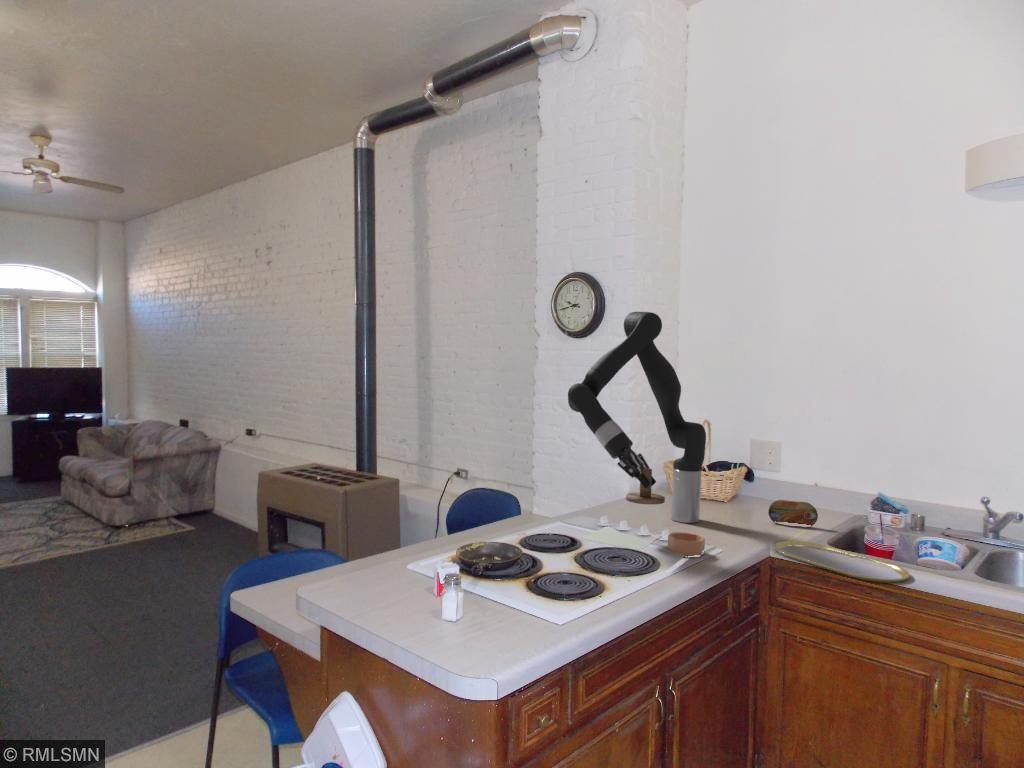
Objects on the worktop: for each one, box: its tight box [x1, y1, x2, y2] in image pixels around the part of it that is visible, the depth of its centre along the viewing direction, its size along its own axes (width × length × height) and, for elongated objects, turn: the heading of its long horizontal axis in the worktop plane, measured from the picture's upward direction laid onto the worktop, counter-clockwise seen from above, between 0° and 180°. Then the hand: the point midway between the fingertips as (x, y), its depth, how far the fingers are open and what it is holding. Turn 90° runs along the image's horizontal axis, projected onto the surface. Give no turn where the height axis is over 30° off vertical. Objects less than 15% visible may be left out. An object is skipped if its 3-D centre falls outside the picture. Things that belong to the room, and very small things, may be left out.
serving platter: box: [773, 540, 910, 584], centre depth 173 cm, size 19×35×2 cm, turn 31°
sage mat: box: [580, 526, 660, 551], centre depth 187 cm, size 18×18×1 cm
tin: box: [767, 499, 819, 527], centre depth 213 cm, size 15×3×8 cm, turn 68°
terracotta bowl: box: [667, 531, 706, 557], centre depth 177 cm, size 9×9×4 cm
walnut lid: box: [625, 467, 666, 505], centre depth 183 cm, size 11×11×9 cm
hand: (651, 485), depth 182 cm, fingers closed on walnut lid, 3 cm apart
